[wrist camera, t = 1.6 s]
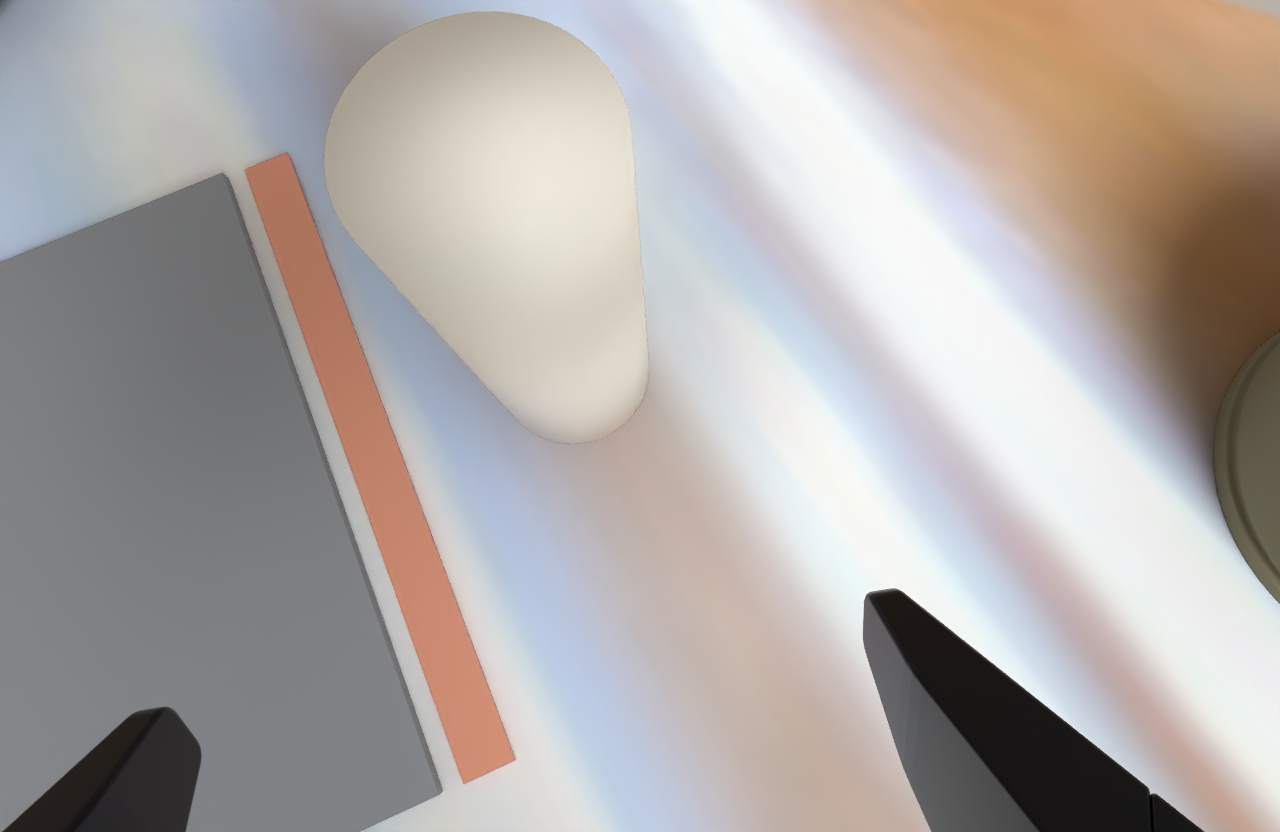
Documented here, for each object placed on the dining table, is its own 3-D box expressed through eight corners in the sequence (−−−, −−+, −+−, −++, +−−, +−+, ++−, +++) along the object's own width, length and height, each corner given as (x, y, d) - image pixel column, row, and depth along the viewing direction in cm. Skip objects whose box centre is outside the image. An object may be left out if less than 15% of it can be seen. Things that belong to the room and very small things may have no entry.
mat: (228, 179, 27) (222, 172, 26) (442, 791, 22) (439, 794, 22) (-325, 402, 25) (-341, 400, 25) (-223, 1100, 21) (-241, 1111, 20)
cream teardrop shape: (674, 336, 25) (684, 78, 12) (607, 469, 24) (541, 341, 11) (542, 276, 25) (421, -29, 13) (472, 403, 25) (265, 211, 12)
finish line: (247, 172, 27) (244, 169, 26) (289, 155, 27) (286, 152, 27) (465, 782, 22) (463, 784, 22) (515, 759, 22) (514, 760, 22)
